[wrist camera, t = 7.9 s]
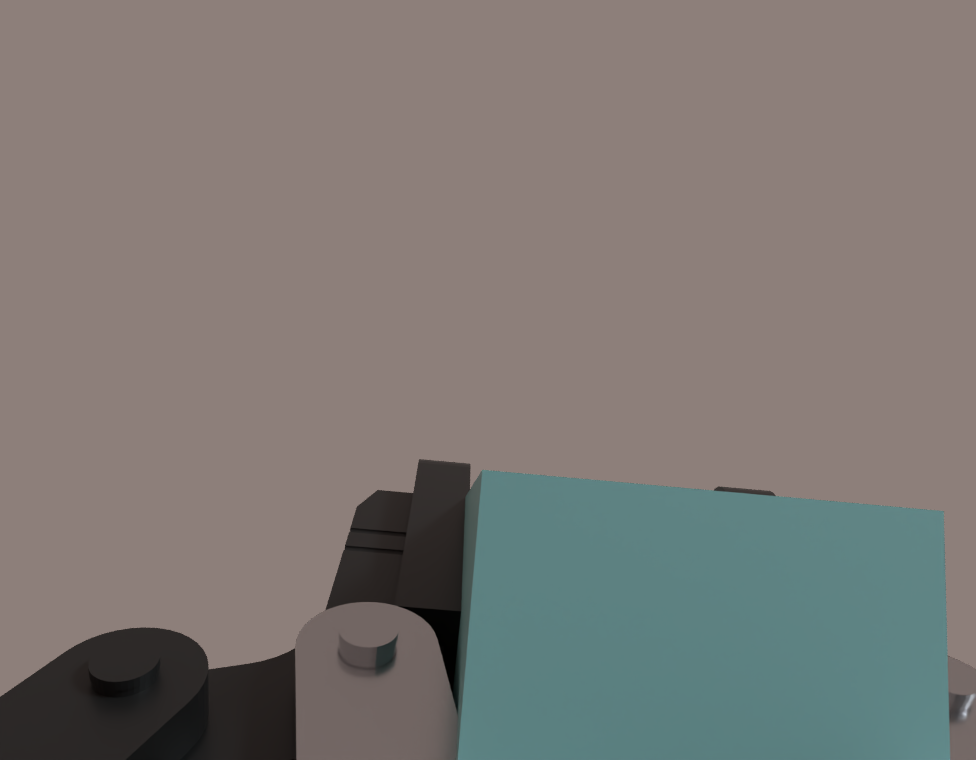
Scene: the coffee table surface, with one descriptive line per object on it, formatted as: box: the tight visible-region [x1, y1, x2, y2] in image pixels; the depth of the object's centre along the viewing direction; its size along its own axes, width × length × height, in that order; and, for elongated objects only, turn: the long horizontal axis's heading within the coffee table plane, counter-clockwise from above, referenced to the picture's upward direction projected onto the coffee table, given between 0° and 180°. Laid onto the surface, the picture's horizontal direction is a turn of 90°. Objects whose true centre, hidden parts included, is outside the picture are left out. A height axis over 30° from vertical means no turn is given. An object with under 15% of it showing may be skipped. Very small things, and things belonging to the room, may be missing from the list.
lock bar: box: [452, 470, 950, 760], centre depth 18 cm, size 4×26×4 cm, turn 4°
